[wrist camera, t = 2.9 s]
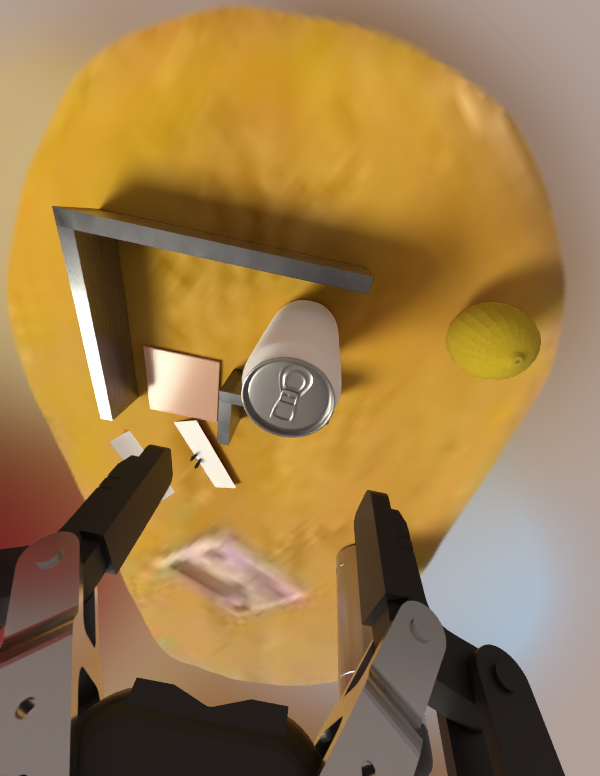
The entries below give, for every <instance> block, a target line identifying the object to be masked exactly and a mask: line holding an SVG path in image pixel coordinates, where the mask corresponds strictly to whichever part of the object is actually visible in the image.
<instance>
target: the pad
mask: <svg viewBox="0 0 600 776" xmlns="http://www.w3.org/2000/svg"><path fill="white" fill-rule="evenodd" d="M143 349H144V358H145V367H146V376H147V385H148V394H149V403H150V409H155V410H159V411H164V412H169V413H174V414H178V415H183V416H188V417H192V418H197V419H202V420H207V421H211V422H216V423H217V421H218V401H219V379H220V362H219V361H215V360H210V359H205V358H201V357H196V356H191V355H187V354H182V353H178V352H173V351H168V350H164V349H159V348H154V347H150V346H143Z"/></svg>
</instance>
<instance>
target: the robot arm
mask: <svg viewBox="0 0 600 776" xmlns="http://www.w3.org/2000/svg"><path fill="white" fill-rule="evenodd" d="M172 476H173V472H172V458H171V450H170V448H166V447H161V446H156V445H148V446H147V447H146V448H145V449H144V451H143V452H142V453H141V454H140V456H134V455H131V456H130V457H128V458H126V459H125V460H123V461H122V462H120V463H119V464H117V465H116V467H115V468H114V469H113V470H112V471H111V472H110V473H109V475H108V477H107V478H105V479H104V480H103V481H102V483H101V484H100V485H99V487H98V488H96V490H95V491H94V492H93V493H92V494H91V495H90V496H89V498H88V499H87V500H86V501H85V502H84V503H83V504H82V506H81V507H80V508H79V509H78V510H77V511H76V512H75V514H74V515H73V516H72V517H71V518H70V519H69V520H68V522H67V523H66V524H65V525H64V526H63V527H62V528H61V529H60V530H59V531H57V532H55V533H51V534H49V535H46V536H44V537H42V538H40V539H38V540H37V541H35V542H34V543H32V544H31V545H29V546H23V547H16V548H8V549H0V630H1V628H2V627H3V626H5V625H6V626H5V632H4V638H3V642H2V645H1V648H0V776H428V775H429V774H430V773H431V771H432V765H433V760H432V752H431V746H430V741H429V736H428V730H427V726H426V721H425V715H424V713H425V710H426V707H427V705H428V706H430V707H431V708H433V709H434V710H436V712H437V717H438V723H439V729H440V734H441V740H442V746H443V751H444V757H445V763H446V768H447V774H448V776H565V774H564V772H563V769H562V767H561V764H560V762H559V759H558V757H557V754H556V751H555V749H554V746H553V744H552V741H551V739H550V736H549V734H548V731H547V728H546V726H545V723H544V721H543V718H542V715H541V713H540V710H539V708H538V705H537V703H536V700H535V698H534V695H533V692H532V690H531V687H530V685H529V683H528V680H527V678H526V676H525V675H524V673H523V671H522V670H521V668H520V667H519V666H518V664H517V663H516V662H515V661H514V660H513V659H512V658H511V656H509V655H508V654H507V653H506V652H505V651H503V650H502V649H500V648H498V647H496V646H493V645H484V646H482V647H480V648H479V649H478V648H476V647H475V646H473V645H471V644H470V643H468V642H466V641H464V640H463V639H461V638H459V637H458V636H456V635H454V634H453V633H451V632H450V631H448V630H447V629H446V628H444V627H443V626H442V625H441V623H440V621H439V619H438V618H437V617H436V615H435V614H434V613H433V612H432V611H431V610H430V608H429V606H428V604H427V601H426V598H425V594H424V590H423V586H422V582H421V578H420V574H419V570H418V566H417V562H416V558H415V555H414V553H413V547H412V543H411V541H410V535H409V531H408V527H407V523H406V522H405V520H404V519H403V517H402V515H401V514H400V512H399V510H394V509H391V507H390V502H389V497H388V495H387V494H386V493H381V492H376V491H371V490H367V491H366V493H365V495H364V497H363V499H362V501H361V503H360V505H359V508H358V510H357V512H356V515H355V520H354V532H355V545H352V546H349V547H346V548H344V549H343V550H341V551H340V552H339V554H338V555H337V568H336V574H337V624H338V681H339V683H338V684H339V686H338V687H339V701H338V703H337V704H336V706H335V707H334V708H333V710H332V712H331V713H330V715H329V717H328V718H327V720H326V722H325V724H324V725H323V727H322V729H321V731H320V733H319V735H318V736H317V738H316V740H315V742H314V744H313V742H312V741H311V739H310V738H309V736H308V735H307V734H306V733H305V731H304V730H303V729H302V728H301V727H300V726H299V725H298V724H297V723H296V722H295V721H293V720H292V719H290V718H289V717H288V716H287V714H288V706H283V705H277V704H273V703H267V702H262V701H257V700H252V699H251V700H246V701H241V702H236V703H230V704H225V705H220V706H215V707H208V706H206V705H204V704H203V703H201V702H200V701H198V700H197V699H195V698H194V697H192V696H190V695H189V694H188V693H186V692H184V691H183V690H182V689H180V688H179V687H177V686H175V685H173V684H168V683H163V682H157V681H152V680H147V679H142V678H136V681H135V683H134V685H133V688H128V689H125V690H122V691H119V692H116V693H114V694H112V695H110V696H108V697H106V698H104V679H103V668H102V662H101V657H100V650H99V626H98V596H97V584H98V583H99V581H100V580H101V578H102V576H103V575H104V573H110V574H115V575H116V574H117V573H118V571H119V570H120V568H121V566H122V565H123V563H124V561H125V560H126V558H127V556H128V555H129V553H130V551H131V550H132V548H133V546H134V545H135V543H136V541H137V540H138V538H139V536H140V535H141V533H142V531H143V530H144V528H145V527H146V525H147V523H148V522H149V520H150V518H151V517H152V515H153V513H154V512H155V510H156V508H157V507H158V505H159V503H160V502H161V500H162V498H163V497H164V495H165V493H166V492H167V490H168V488H169V486H170V484H171V481H172Z"/></svg>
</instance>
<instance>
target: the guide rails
mask: <svg viewBox="0 0 600 776" xmlns="http://www.w3.org/2000/svg"><path fill="white" fill-rule="evenodd" d="M52 207H53V212H54V216H55V220H56V225H57V229H58V233H59V238H60V242H61V247H62V251H63V255H64V260H65V264H66V268H67V273H68V277H69V281H70V286H71V290H72V295H73V299H74V303H75V308H76V312H77V316H78V321H79V325H80V330H81V334H82V338H83V343H84V347H85V351H86V356H87V360H88V364H89V369H90V373H91V378H92V382H93V386H94V391H95V395H96V399H97V404H98V408H99V413H100V417H101V419H106V420H111V421H113V420H114V419H115V418H116V417H117V416H118V415H119V414H121V413H122V412H123V411H124V410H125V409H126V408H127V407H128V406H129V405H130V404H132V403H133V402H134V401H135V400H136V399H137V398H138V393H137V385H136V378H135V370H134V363H133V356H132V348H131V341H130V333H129V326H128V319H127V311H126V304H125V296H124V289H123V281H122V274H121V267H120V259H119V252H118V244H117V239H119V240H123V241H128V242H132V243H137V244H141V245H146V246H151V247H155V248H160V249H164V250H169V251H173V252H178V253H182V254H187V255H192V256H196V257H201V258H205V259H210V260H214V261H219V262H223V263H228V264H233V265H237V266H242V267H246V268H251V269H255V270H260V271H264V272H269V273H273V274H278V275H283V276H287V277H292V278H296V279H301V280H305V281H310V282H314V283H319V284H324V285H328V286H333V287H337V288H342V289H346V290H351V291H355V292H360V293H365V294H369V290H370V287H371V284H372V281H373V276H372V274H371V273H370V272H369V270H368V269H367V268H364V267H359V266H355V265H350V264H346V263H341V262H337V261H332V260H328V259H323V258H319V257H314V256H310V255H305V254H301V253H296V252H292V251H287V250H282V249H278V248H273V247H269V246H264V245H260V244H255V243H251V242H246V241H242V240H237V239H233V238H228V237H224V236H219V235H215V234H210V233H206V232H201V231H196V230H192V229H187V228H183V227H178V226H174V225H169V224H165V223H160V222H156V221H151V220H147V219H142V218H138V217H133V216H129V215H124V214H120V213H115V212H110V211H106V210H101V209H92V208H75V207H59V206H52ZM242 375H243V371H242V370H237V369H234V370H233V371H232V373H231V374H230V376H229V377H228V379H227V380H226V382H225V383H224V385H223V386H222V388H221V389H220V391H219V411H218V433H217V443H220V444H225V445H229V443H230V441H231V439H232V436H233V434H234V432H235V430H236V428H237V426H238V423H239V421H240V419H241V409H242V406H243V403H242V397H241V391H242ZM243 407H244V406H243ZM328 423H329V421H328V422H327V423H326V424H328Z"/></svg>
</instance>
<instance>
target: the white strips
mask: <svg viewBox="0 0 600 776" xmlns="http://www.w3.org/2000/svg"><path fill="white" fill-rule="evenodd" d="M174 423H175V425H176V426H177V428H178V430H179V431H180V433H181V434H182V436H183V437H184V439H185V441H186V442H187V444H188V445H189V447H190V448H191V450H192V452H193V453H194V456H192V457H191V459H190V461H192V460H193V459H194V458H197V459H198V462H197V464H196V465H195V468H197V467H198V466H199V464H201V466H202V467H203V469H204V470H205V472H206V473H207V475H208V477H209V478H210V480H211V481H212V483H213V484H214V486H215V487H222V488H236V487H235V485H234V483H233V482H232V480H231V478H230V477H229V475H228V473H227V472H226V470H225V468H224V466H223V465H222V463H221V461H220V460H219V458H218V456H217V455H216V453H215V451H214V449H213V448H212V446H211V444H210V443H209V441H208V439H207V438H206V436H205V434H204V432H203V431H202V429H201V427H200V426H199V424H198V422H197V421H196V420H195V421H183V422H174ZM109 443H110V444H111V445H112V446H113V448H114V449H115V450H116V451H117V453H118V454H119V455H120V456H121V458H122V459H123V460H125V459H126V458H128V457H130V456H131V455H134V456H140V454H141V453H142V452H143V451H144V450H143V448H142V447H141V446H140V444H139V443H138V442H137V440H136V439H135V438H134V436H133V435H132V434H131V432H130V431H127V432H125V433H124V434H122V435H120V436H118V437H117V438H115V439H113V440H112V441H110V442H109ZM174 492H175V491H174V490H173V489H172V487H171V486H169V488H168V490H167V492H166V493H165V495H164V497H163V498H162V500H161V501H163V500H164V499H166V498H167V497H168V496H170V495H171V494H173V493H174Z"/></svg>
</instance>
